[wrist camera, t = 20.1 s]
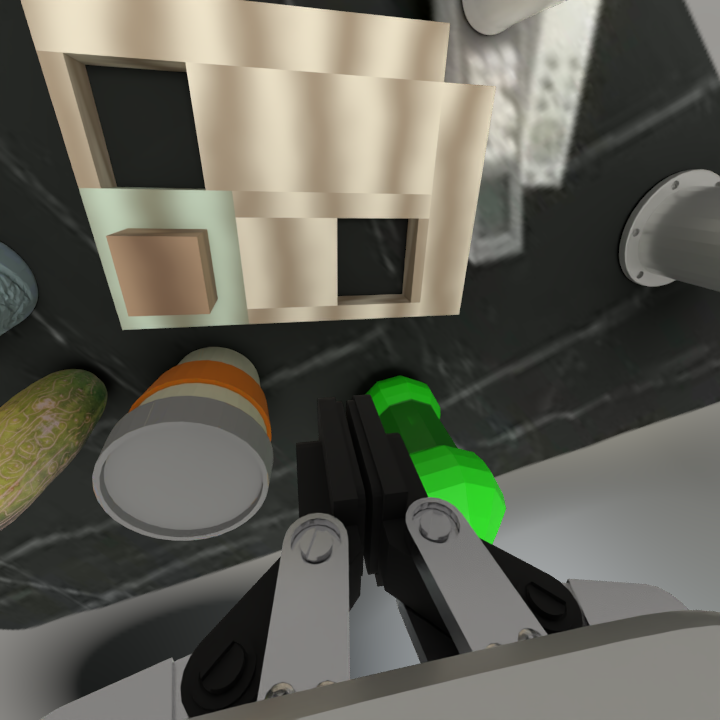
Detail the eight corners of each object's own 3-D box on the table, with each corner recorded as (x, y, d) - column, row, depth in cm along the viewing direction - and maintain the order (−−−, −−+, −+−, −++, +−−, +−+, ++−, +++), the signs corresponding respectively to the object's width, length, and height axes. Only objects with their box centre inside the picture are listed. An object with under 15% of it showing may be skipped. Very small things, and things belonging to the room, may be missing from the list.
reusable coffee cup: (233, 444, 44) (212, 560, 31) (131, 393, 38) (53, 507, 25) (298, 373, 41) (305, 467, 28) (198, 307, 35) (148, 385, 22)
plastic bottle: (435, 361, 44) (586, 548, 22) (419, 430, 48) (530, 640, 27) (355, 360, 41) (435, 568, 20) (346, 432, 46) (403, 664, 24)
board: (485, 42, 30) (505, 29, 27) (447, 305, 40) (459, 314, 38) (42, -4, 24) (13, -25, 21) (134, 317, 35) (122, 329, 32)
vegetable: (45, 351, 34) (-198, 532, 17) (116, 346, 35) (-44, 513, 18) (68, 402, 37) (-121, 604, 20) (133, 397, 38) (8, 583, 21)
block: (207, 229, 29) (196, 236, 26) (217, 298, 32) (209, 314, 29) (127, 228, 28) (105, 236, 25) (145, 300, 31) (128, 316, 28)
